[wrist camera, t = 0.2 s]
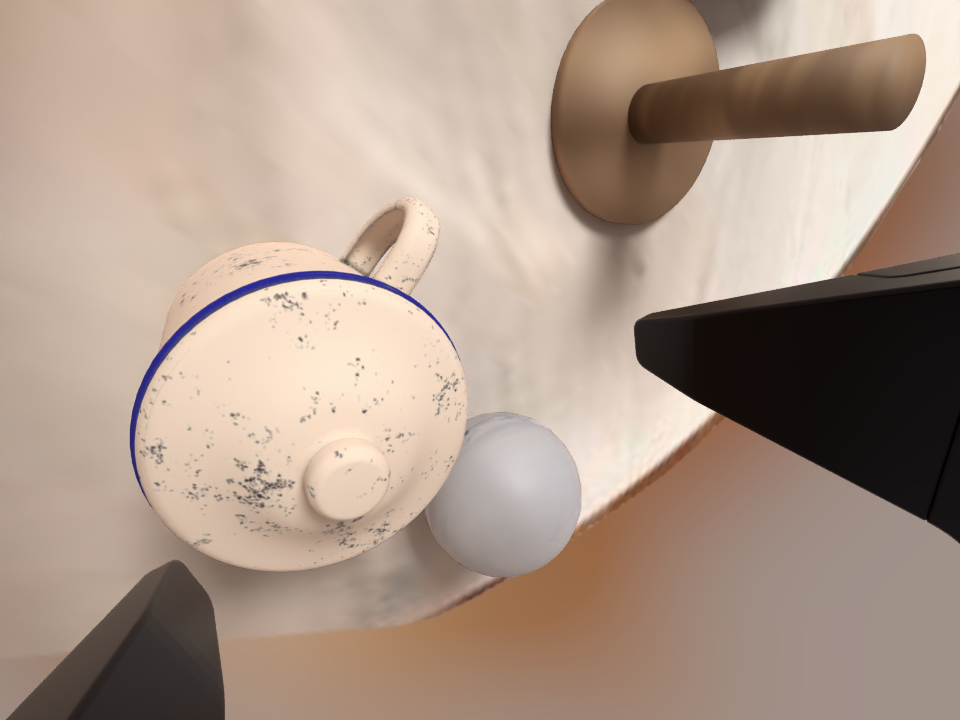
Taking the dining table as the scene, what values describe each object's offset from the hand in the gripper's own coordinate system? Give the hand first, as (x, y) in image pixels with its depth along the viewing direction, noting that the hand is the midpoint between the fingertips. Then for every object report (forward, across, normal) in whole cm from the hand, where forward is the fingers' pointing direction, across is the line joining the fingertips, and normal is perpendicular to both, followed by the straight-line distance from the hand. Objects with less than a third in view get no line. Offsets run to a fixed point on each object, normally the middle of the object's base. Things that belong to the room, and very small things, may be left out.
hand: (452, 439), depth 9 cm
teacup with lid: (+15, -1, -1) cm, 15 cm away
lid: (+14, +19, +2) cm, 24 cm away
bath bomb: (+14, +4, -12) cm, 20 cm away
